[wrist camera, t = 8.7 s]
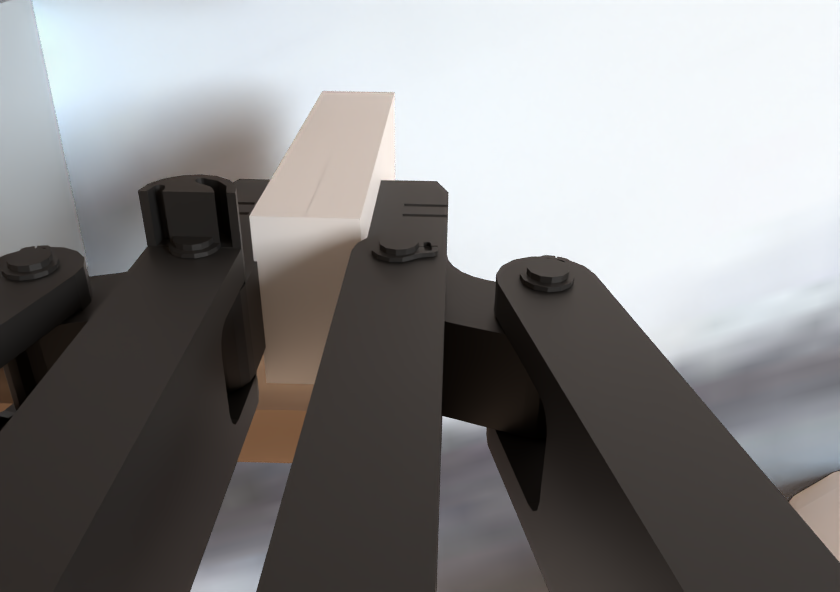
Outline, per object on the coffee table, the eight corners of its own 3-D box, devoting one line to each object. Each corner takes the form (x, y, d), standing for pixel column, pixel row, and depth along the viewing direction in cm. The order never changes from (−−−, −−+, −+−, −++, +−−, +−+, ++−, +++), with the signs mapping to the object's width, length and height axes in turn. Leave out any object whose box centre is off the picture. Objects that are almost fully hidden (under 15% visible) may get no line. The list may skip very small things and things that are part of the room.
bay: (-413, -204, 17) (-723, -233, 12) (417, -201, 16) (405, -230, 12) (-179, 361, 23) (-324, 474, 19) (415, 375, 23) (407, 494, 18)
